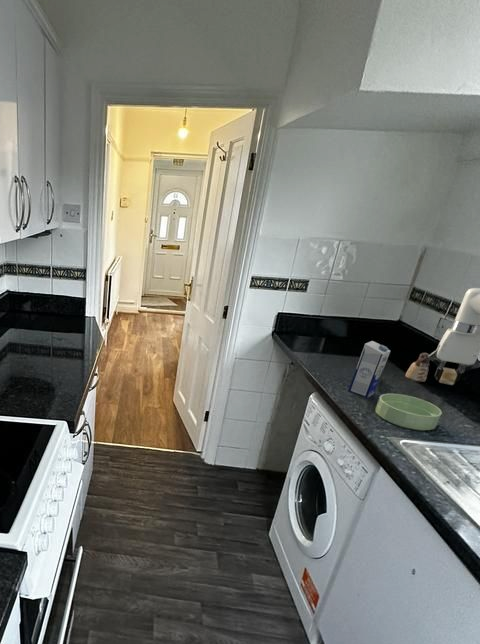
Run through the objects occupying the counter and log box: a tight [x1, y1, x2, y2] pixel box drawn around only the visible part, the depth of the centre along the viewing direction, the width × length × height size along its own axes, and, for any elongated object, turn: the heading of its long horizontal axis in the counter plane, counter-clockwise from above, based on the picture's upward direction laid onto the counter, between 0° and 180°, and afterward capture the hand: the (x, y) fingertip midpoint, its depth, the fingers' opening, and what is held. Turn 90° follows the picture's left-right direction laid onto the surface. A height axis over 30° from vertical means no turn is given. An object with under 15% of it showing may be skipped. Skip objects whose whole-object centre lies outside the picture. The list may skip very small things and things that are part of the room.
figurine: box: [405, 352, 431, 383], centre depth 173 cm, size 7×7×12 cm
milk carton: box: [347, 340, 391, 399], centre depth 154 cm, size 7×7×20 cm
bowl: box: [374, 393, 443, 431], centre depth 139 cm, size 17×17×6 cm
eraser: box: [438, 366, 457, 386], centre depth 138 cm, size 4×6×4 cm, turn 148°
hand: (445, 380), depth 139 cm, fingers closed on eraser, 3 cm apart
